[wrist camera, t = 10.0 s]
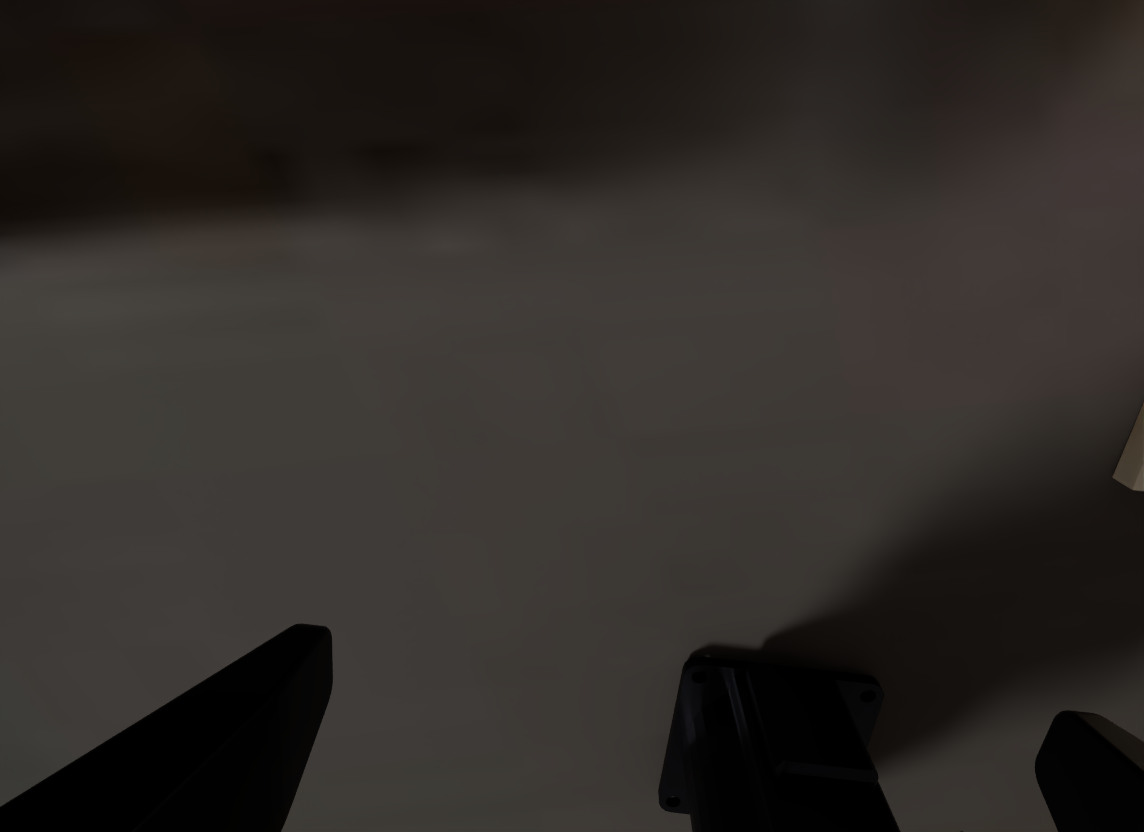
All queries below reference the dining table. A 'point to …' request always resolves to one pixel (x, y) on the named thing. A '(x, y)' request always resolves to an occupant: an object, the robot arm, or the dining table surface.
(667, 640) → the dining table surface
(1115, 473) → the roll holder
